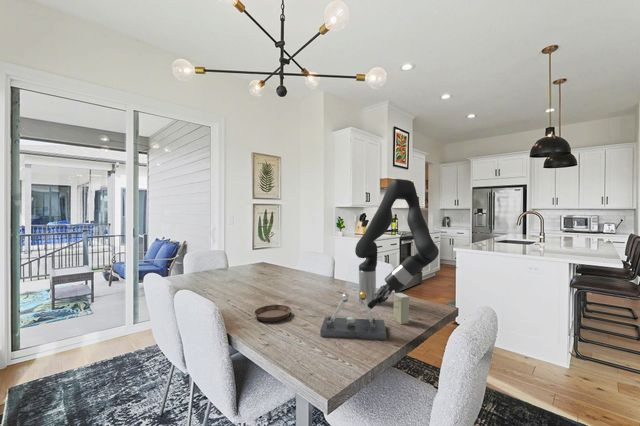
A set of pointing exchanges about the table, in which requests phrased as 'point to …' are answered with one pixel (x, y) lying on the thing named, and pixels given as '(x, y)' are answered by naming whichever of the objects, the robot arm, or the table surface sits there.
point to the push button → (351, 320)
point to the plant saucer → (272, 312)
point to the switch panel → (353, 329)
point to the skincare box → (401, 308)
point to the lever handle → (366, 305)
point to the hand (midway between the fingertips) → (369, 307)
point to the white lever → (344, 299)
